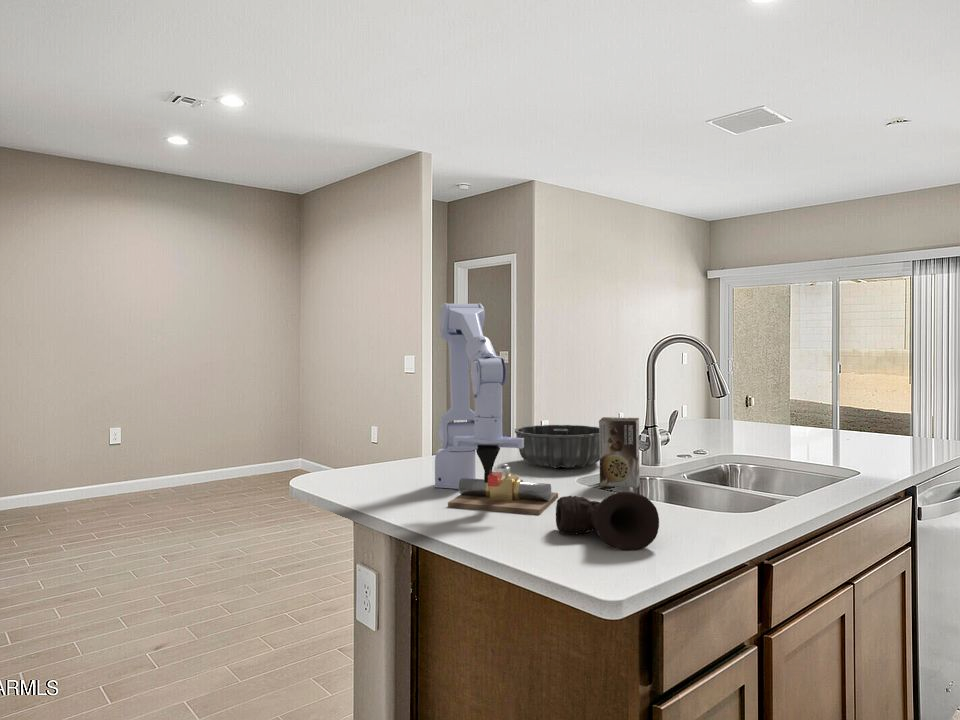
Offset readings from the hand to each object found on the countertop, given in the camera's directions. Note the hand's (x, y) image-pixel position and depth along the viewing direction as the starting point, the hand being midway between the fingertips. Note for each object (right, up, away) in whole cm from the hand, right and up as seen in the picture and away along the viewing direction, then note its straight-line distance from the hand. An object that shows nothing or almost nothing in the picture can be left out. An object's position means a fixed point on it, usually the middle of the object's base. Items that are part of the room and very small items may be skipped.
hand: (488, 481), depth 140 cm
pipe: (+20, -7, -20) cm, 29 cm away
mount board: (+4, -6, +8) cm, 10 cm away
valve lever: (+2, 0, +3) cm, 4 cm away
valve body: (+4, -6, +8) cm, 10 cm away
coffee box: (+32, -5, +25) cm, 41 cm away
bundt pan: (+21, -5, +53) cm, 58 cm away
